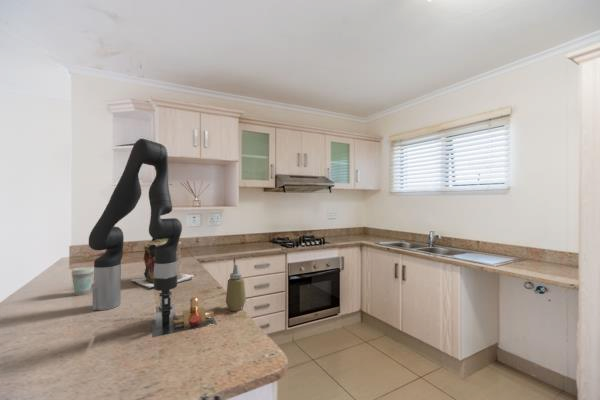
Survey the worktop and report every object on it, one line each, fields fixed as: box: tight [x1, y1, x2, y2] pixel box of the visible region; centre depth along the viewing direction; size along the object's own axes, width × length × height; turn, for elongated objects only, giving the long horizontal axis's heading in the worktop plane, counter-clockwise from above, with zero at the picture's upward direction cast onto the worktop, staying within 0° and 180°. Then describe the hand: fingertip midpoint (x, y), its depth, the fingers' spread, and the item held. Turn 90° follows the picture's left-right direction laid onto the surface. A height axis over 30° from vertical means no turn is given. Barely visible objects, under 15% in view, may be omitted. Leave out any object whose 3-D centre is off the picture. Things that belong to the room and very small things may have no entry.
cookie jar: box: [130, 237, 195, 289], centre depth 152 cm, size 25×25×32 cm
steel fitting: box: [155, 303, 176, 328], centre depth 96 cm, size 6×6×5 cm
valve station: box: [151, 296, 218, 338], centre depth 97 cm, size 20×14×10 cm
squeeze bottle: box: [225, 264, 247, 312], centre depth 111 cm, size 8×8×18 cm
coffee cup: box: [71, 266, 94, 296], centre depth 130 cm, size 9×9×12 cm
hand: (165, 321), depth 96 cm, fingers closed on steel fitting, 6 cm apart
